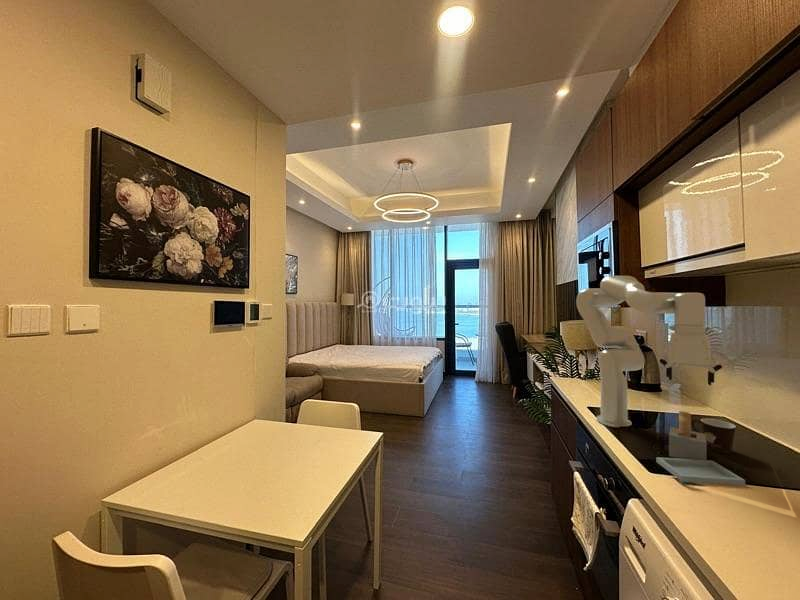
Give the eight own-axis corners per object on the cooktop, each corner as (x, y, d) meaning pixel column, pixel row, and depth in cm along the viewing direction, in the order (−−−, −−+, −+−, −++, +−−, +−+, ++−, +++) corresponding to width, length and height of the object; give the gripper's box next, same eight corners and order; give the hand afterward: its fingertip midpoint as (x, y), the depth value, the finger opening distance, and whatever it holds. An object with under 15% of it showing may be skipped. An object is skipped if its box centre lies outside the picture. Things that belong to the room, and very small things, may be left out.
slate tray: (656, 465, 103) (656, 457, 103) (712, 468, 101) (712, 460, 101) (681, 484, 92) (681, 476, 92) (745, 489, 90) (745, 480, 90)
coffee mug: (742, 459, 107) (743, 429, 107) (712, 456, 108) (712, 427, 108) (716, 443, 118) (716, 416, 118) (688, 441, 120) (689, 414, 120)
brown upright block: (678, 454, 107) (678, 413, 107) (678, 451, 110) (679, 410, 110) (690, 458, 105) (690, 415, 105) (690, 454, 108) (691, 412, 108)
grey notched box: (668, 458, 107) (669, 434, 107) (670, 449, 113) (670, 426, 113) (706, 468, 101) (706, 443, 101) (705, 458, 107) (705, 434, 107)
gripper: (655, 329, 110) (655, 379, 110) (727, 332, 98) (727, 389, 98) (657, 327, 115) (656, 375, 115) (725, 330, 103) (725, 384, 104)
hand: (689, 381), depth 107 cm, fingers open, 9 cm apart
